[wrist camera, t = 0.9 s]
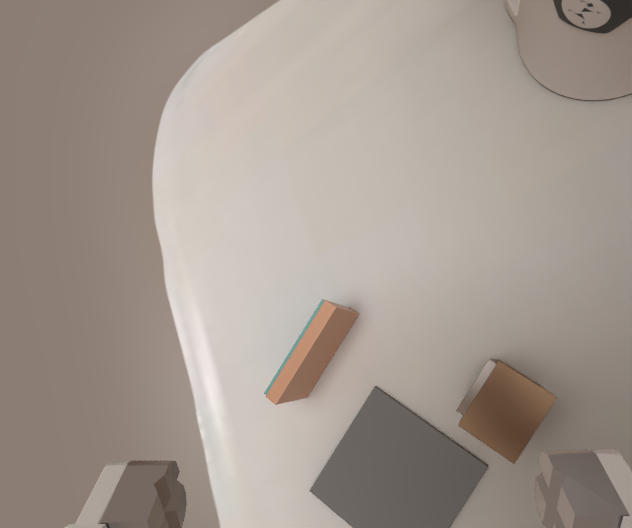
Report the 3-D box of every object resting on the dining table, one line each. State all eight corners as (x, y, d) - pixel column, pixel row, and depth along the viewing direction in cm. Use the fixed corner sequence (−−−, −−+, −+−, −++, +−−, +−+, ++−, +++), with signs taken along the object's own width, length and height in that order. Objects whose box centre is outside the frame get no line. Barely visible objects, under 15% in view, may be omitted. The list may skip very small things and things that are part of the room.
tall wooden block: (492, 355, 47) (490, 356, 34) (539, 385, 45) (556, 397, 32) (462, 401, 47) (450, 419, 34) (509, 432, 45) (514, 464, 32)
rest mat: (376, 386, 50) (374, 386, 49) (488, 465, 46) (487, 466, 45) (311, 489, 50) (309, 490, 50) (416, 577, 46) (415, 580, 45)
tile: (347, 306, 52) (322, 298, 45) (359, 314, 52) (336, 307, 44) (296, 388, 53) (263, 394, 45) (307, 397, 52) (275, 404, 45)
